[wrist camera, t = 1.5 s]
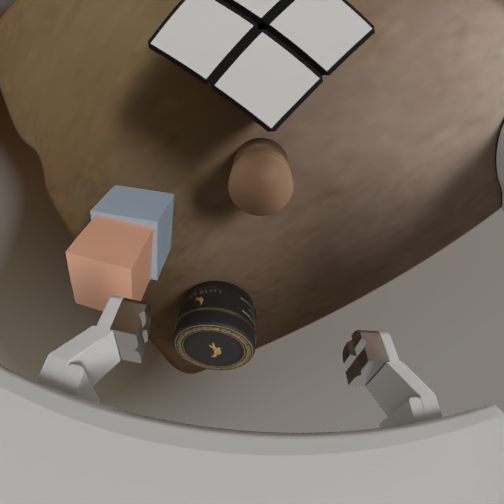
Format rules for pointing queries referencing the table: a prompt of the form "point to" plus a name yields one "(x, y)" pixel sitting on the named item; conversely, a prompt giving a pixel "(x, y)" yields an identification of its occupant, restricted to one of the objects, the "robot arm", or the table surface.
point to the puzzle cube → (261, 49)
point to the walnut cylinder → (260, 177)
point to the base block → (142, 216)
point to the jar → (216, 327)
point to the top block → (110, 261)
